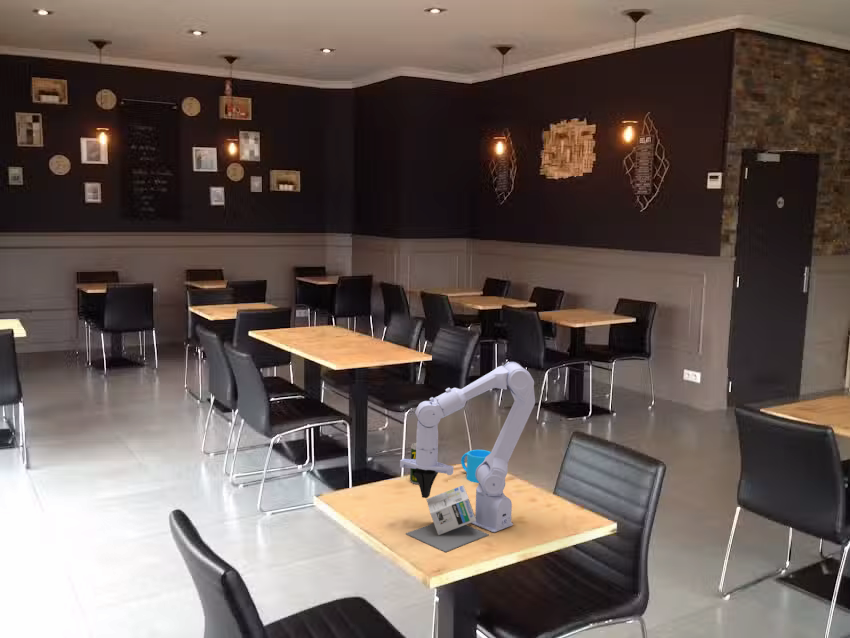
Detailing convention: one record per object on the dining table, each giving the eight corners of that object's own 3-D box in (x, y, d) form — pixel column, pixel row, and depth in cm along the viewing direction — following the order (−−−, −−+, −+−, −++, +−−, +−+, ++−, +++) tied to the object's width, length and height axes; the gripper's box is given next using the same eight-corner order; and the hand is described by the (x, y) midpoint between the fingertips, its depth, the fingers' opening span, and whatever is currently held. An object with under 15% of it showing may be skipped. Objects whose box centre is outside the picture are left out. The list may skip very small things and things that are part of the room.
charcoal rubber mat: (488, 535, 206) (488, 534, 206) (445, 552, 195) (445, 551, 195) (449, 518, 216) (449, 517, 216) (405, 534, 205) (405, 533, 205)
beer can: (410, 478, 248) (411, 441, 246) (427, 479, 248) (428, 442, 246) (409, 484, 243) (410, 446, 241) (427, 485, 243) (428, 447, 241)
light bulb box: (438, 536, 204) (477, 521, 205) (429, 513, 203) (468, 498, 203) (433, 520, 215) (471, 506, 215) (425, 497, 214) (463, 483, 214)
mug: (497, 479, 250) (498, 454, 249) (480, 484, 244) (481, 459, 243) (469, 469, 258) (470, 445, 257) (452, 474, 253) (453, 450, 252)
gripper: (458, 446, 210) (456, 496, 212) (407, 439, 215) (406, 487, 217) (448, 454, 203) (447, 504, 205) (397, 446, 209) (396, 495, 211)
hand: (425, 496), depth 211 cm, fingers closed
